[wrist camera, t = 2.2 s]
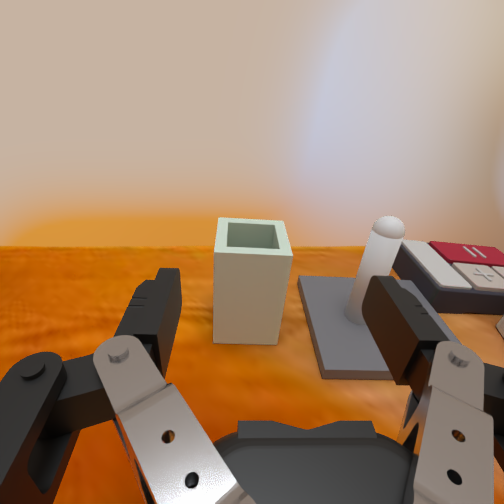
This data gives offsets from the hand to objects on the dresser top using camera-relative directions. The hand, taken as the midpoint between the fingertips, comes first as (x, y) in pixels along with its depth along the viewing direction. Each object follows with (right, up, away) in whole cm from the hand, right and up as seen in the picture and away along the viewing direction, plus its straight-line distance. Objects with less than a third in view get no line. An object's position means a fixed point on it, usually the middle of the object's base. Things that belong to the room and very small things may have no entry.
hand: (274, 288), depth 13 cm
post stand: (+12, -6, +19) cm, 23 cm away
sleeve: (-2, -5, +18) cm, 19 cm away
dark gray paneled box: (+26, -3, +27) cm, 37 cm away
